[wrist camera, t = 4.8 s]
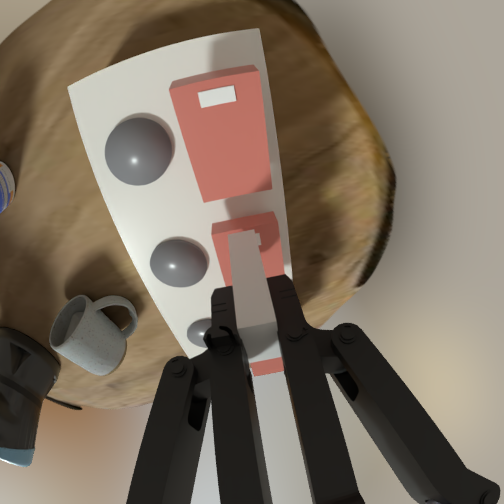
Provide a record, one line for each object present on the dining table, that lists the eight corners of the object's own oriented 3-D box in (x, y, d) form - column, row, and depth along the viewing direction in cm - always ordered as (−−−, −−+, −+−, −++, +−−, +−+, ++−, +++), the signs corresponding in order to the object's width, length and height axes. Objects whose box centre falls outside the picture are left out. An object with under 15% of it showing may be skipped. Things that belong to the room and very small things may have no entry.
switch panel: (204, 349, 36) (204, 387, 31) (97, 82, 15) (59, 88, 10) (290, 334, 36) (299, 371, 31) (249, 39, 15) (261, 25, 10)
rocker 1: (203, 186, 16) (203, 203, 15) (172, 81, 11) (168, 90, 10) (266, 173, 16) (272, 189, 15) (253, 64, 11) (259, 71, 10)
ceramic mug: (100, 340, 33) (90, 386, 27) (59, 304, 28) (41, 351, 22) (154, 319, 31) (148, 373, 25) (110, 275, 27) (91, 331, 20)
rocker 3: (252, 365, 26) (254, 376, 24) (238, 310, 23) (238, 322, 22) (291, 357, 26) (294, 369, 24) (283, 301, 23) (287, 312, 22)
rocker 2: (234, 304, 21) (235, 318, 20) (211, 223, 17) (211, 235, 16) (284, 294, 21) (289, 308, 20) (273, 211, 17) (278, 222, 16)
